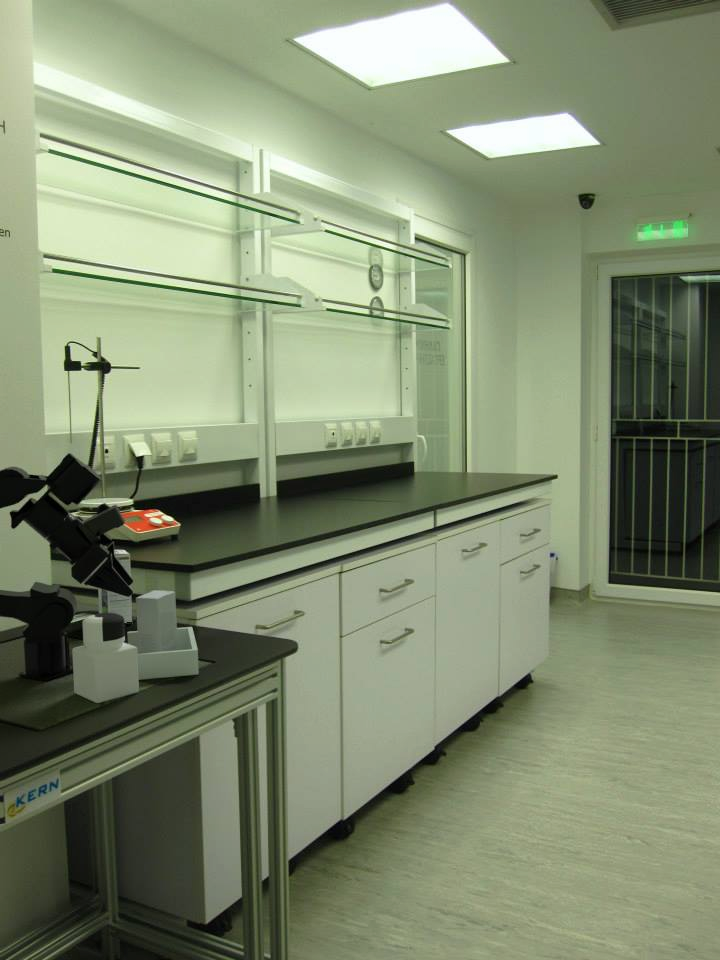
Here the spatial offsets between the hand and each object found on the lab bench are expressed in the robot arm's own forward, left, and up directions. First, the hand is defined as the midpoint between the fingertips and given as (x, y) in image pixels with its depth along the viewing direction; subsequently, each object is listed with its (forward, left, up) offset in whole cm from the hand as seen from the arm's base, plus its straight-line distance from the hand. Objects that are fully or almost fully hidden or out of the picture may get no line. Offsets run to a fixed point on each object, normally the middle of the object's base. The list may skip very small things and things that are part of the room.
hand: (131, 588), depth 149 cm
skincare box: (+3, -3, -13) cm, 14 cm away
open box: (+3, -3, -13) cm, 14 cm away
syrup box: (+21, +24, -13) cm, 34 cm away
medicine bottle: (-12, -6, -13) cm, 19 cm away
